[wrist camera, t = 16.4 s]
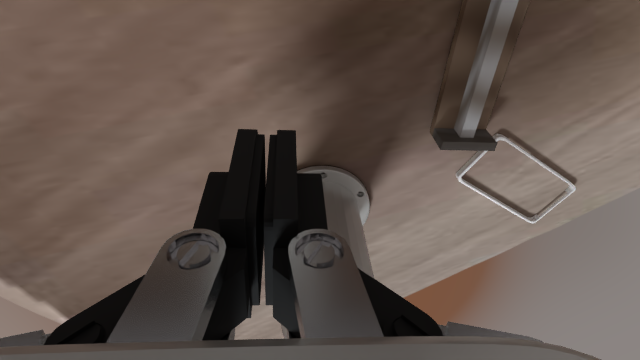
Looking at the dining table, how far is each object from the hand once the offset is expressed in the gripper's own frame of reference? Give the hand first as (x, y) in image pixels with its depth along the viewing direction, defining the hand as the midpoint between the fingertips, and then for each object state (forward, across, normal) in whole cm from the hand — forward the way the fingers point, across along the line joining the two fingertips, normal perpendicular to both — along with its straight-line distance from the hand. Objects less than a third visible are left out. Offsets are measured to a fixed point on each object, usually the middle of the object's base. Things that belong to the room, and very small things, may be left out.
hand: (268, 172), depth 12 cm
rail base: (+29, -20, +2) cm, 35 cm away
